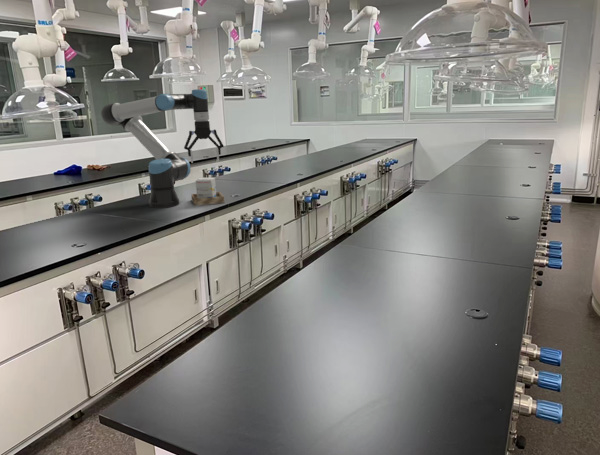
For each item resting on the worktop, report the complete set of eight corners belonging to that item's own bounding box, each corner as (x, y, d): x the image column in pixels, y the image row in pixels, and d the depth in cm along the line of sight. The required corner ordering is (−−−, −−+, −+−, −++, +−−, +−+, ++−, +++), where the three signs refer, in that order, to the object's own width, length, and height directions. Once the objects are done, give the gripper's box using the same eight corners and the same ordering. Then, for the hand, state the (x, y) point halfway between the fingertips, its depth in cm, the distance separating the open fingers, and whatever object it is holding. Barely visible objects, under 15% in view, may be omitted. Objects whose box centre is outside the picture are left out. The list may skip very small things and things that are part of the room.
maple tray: (194, 205, 233) (194, 199, 232) (191, 200, 245) (191, 194, 244) (224, 202, 237) (224, 196, 237) (220, 197, 250) (219, 191, 249)
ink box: (217, 198, 245) (215, 177, 241) (213, 201, 237) (211, 179, 233) (201, 198, 245) (199, 177, 242) (197, 201, 237) (195, 180, 234)
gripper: (177, 121, 223) (181, 164, 229) (227, 120, 230) (229, 161, 236) (176, 121, 230) (180, 162, 236) (225, 119, 237) (227, 159, 243)
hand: (205, 161), depth 236 cm, fingers open, 13 cm apart
